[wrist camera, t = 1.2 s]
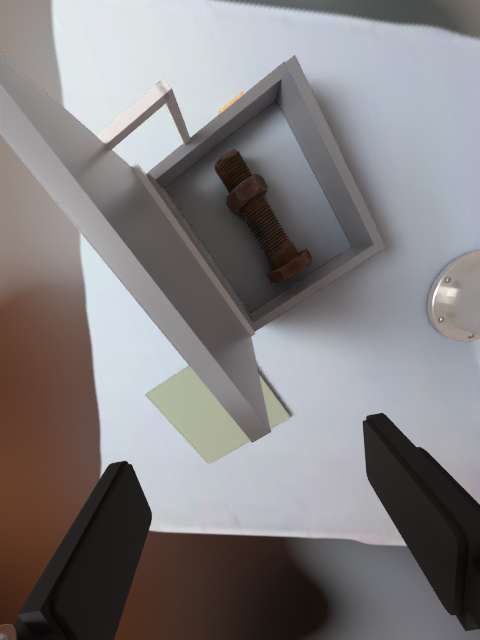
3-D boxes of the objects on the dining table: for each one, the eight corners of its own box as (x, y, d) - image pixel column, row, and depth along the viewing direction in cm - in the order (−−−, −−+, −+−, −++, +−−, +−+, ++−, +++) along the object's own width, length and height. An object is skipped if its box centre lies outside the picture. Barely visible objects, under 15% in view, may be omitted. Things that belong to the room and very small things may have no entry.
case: (275, 78, 25) (449, -672, 5) (361, 248, 30) (624, 230, 10) (141, 186, 28) (-118, -10, 7) (241, 327, 33) (252, 442, 12)
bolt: (231, 167, 29) (291, 268, 32) (200, 181, 27) (266, 287, 30) (253, 130, 24) (322, 255, 27) (216, 144, 22) (294, 277, 25)
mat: (232, 337, 33) (232, 338, 32) (289, 414, 37) (290, 417, 36) (146, 393, 35) (145, 395, 34) (208, 461, 39) (208, 464, 38)
